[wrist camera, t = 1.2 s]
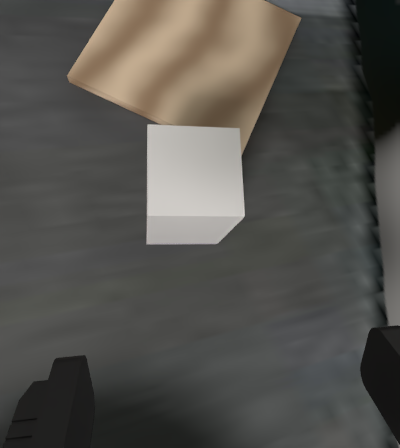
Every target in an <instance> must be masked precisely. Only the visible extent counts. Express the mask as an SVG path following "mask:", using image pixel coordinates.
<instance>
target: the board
mask: <svg viewBox="0 0 400 448" xmlns="http://www.w3.org/2000/svg"><path fill="white" fill-rule="evenodd" d="M300 20H301V18H300V17H298V16H296V15H294V14H292V13H290V12H288V11H286V10H284V9H281V8H279V7H277V6H275V5H273V4H271V3H269V2H267V1H265V0H114V2H113V4H112V5H111V7H110V8H109V10H108V12H107V13H106V15H105V16H104V18H103V19H102V21H101V23H100V24H99V26H98V27H97V29H96V31H95V32H94V34H93V35H92V37H91V39H90V40H89V42H88V43H87V45H86V47H85V48H84V50H83V51H82V53H81V54H80V56H79V58H78V59H77V61H76V62H75V64H74V66H73V67H72V69H71V70H70V72H69V74H68V75H67V77H68V80H69V82H70V83H72V84H74V85H77V86H79V87H81V88H83V89H85V90H87V91H90V92H92V93H94V94H96V95H98V96H100V97H103V98H105V99H107V100H109V101H111V102H113V103H115V104H118V105H120V106H122V107H124V108H126V109H128V110H131V111H133V112H135V113H137V114H139V115H141V116H144V117H146V118H148V119H150V120H152V121H154V122H156V123H159V124H161V125H173V126H197V127H221V128H240V143H241V156H242V153H243V151H244V149H245V146H246V144H247V142H248V139H249V137H250V135H251V133H252V130H253V128H254V126H255V123H256V121H257V119H258V116H259V114H260V112H261V110H262V107H263V105H264V103H265V100H266V98H267V96H268V94H269V91H270V89H271V87H272V84H273V82H274V80H275V77H276V75H277V73H278V71H279V68H280V66H281V64H282V61H283V59H284V57H285V54H286V52H287V50H288V48H289V45H290V43H291V41H292V38H293V36H294V34H295V32H296V29H297V27H298V25H299V22H300Z"/></svg>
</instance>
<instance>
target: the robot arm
mask: <svg viewBox="0 0 400 448" xmlns="http://www.w3.org/2000/svg"><path fill="white" fill-rule="evenodd" d="M360 371H361V377H362V381H363V384H364V386H365V388H366V390H367V391H368V393H369V395H370V396H371V398H372V400H373V401H374V403H375V405H376V406H377V408H378V410H379V411H380V413H381V415H382V416H383V418H384V420H385V421H386V423H387V424H388V426H389V428H390V429H391V431H392V433H393V434H394V436H395V438H396V439H397V441H398V443H399V444H400V326H387V327H377V328H372V329H371V330H370V331H369V334H368V338H367V342H366V346H365V350H364V354H363V358H362V362H361V367H360ZM94 410H95V402H94V392H93V387H92V382H91V378H90V373H89V368H88V363H87V359H86V356H85V355H83V356H73V357H63V358H56V359H55V360H54V362H53V365H52V369H51V372H50V376H49V379H48V380H45V381H35V382H33V383H32V385H31V386H30V387H29V388H28V390H27V391H26V392H25V394H24V395H23V396H22V397H21V399H20V400H19V402H18V405H17V408H16V411H15V414H14V417H13V419H12V425H10V428H9V431H8V434H7V436H6V442H5V443H4V445H3V448H90V442H91V435H92V428H93V421H94Z"/></svg>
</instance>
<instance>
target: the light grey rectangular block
mask: <svg viewBox="0 0 400 448" xmlns="http://www.w3.org/2000/svg"><path fill="white" fill-rule="evenodd" d="M244 217H245V211H244V194H243V177H242V160H241V143H240V128H221V127H197V126H173V125H149V124H148V129H147V244H218V243H219V242H220V241H221V240H222V239H223V238H224V237H225V236H226V235H227V234H228V233H229V232H230V231H231V230H232V229H233V228H234V227H235V226H236V225H237V224H238V223H239V222H240V221H241V220H242V219H243V218H244Z"/></svg>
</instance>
